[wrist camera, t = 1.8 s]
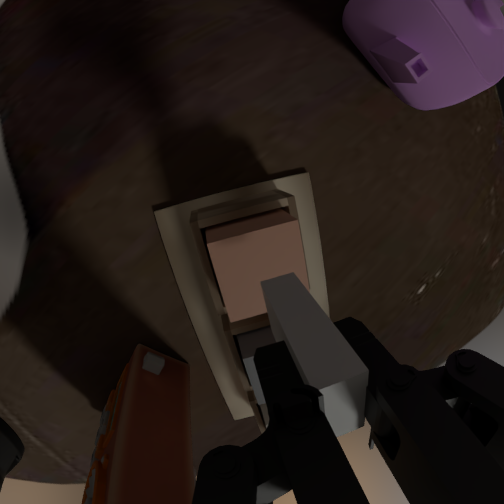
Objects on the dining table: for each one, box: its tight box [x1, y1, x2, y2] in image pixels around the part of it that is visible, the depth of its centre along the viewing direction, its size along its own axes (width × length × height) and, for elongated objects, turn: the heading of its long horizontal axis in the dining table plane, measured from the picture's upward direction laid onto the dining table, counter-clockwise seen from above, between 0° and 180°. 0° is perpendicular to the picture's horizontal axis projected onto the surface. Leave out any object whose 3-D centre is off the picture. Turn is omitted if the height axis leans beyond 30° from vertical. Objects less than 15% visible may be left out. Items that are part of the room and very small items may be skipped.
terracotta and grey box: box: [82, 344, 196, 504], centre depth 16 cm, size 21×7×15 cm
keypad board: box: [154, 172, 330, 433], centre depth 23 cm, size 12×24×4 cm, turn 13°
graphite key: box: [237, 325, 276, 405], centre depth 21 cm, size 5×5×4 cm
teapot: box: [342, 0, 504, 110], centre depth 13 cm, size 20×12×13 cm, turn 135°
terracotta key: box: [205, 208, 310, 322], centre depth 18 cm, size 5×5×4 cm
